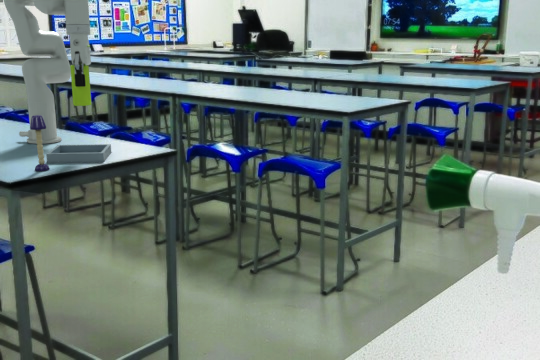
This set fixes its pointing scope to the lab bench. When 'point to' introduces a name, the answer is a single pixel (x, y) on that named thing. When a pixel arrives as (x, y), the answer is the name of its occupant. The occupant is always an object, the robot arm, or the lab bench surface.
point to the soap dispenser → (81, 93)
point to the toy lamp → (39, 140)
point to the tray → (79, 153)
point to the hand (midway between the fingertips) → (82, 85)
